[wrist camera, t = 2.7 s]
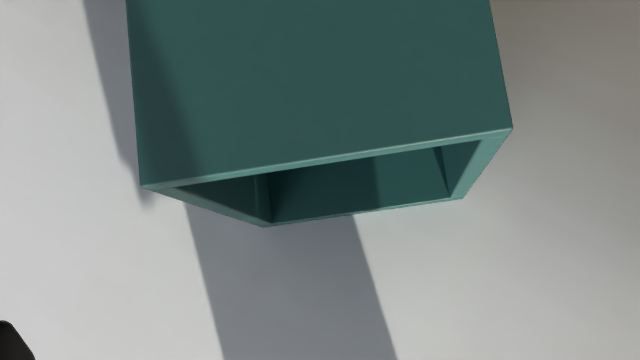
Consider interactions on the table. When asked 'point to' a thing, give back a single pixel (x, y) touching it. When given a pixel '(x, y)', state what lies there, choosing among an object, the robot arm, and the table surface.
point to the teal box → (314, 103)
